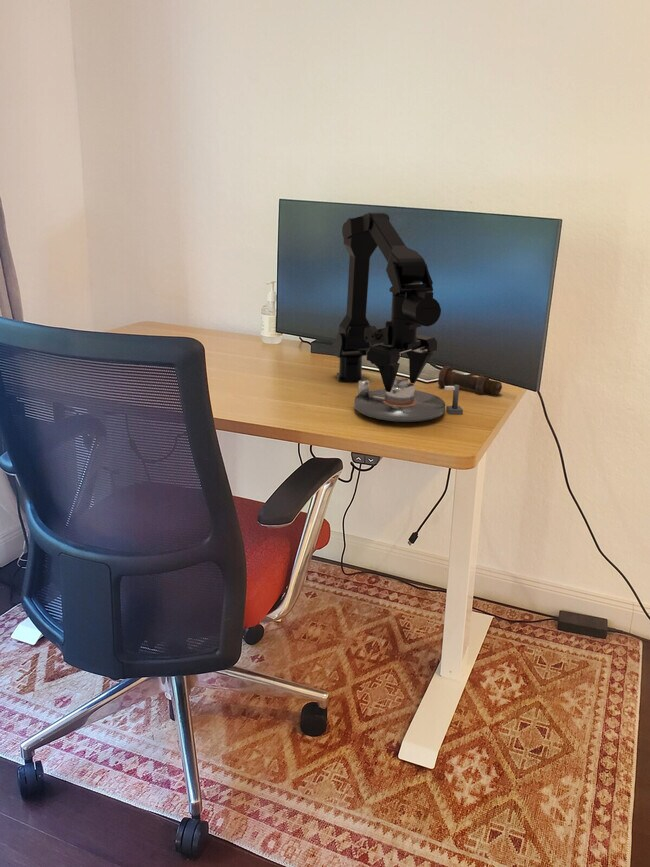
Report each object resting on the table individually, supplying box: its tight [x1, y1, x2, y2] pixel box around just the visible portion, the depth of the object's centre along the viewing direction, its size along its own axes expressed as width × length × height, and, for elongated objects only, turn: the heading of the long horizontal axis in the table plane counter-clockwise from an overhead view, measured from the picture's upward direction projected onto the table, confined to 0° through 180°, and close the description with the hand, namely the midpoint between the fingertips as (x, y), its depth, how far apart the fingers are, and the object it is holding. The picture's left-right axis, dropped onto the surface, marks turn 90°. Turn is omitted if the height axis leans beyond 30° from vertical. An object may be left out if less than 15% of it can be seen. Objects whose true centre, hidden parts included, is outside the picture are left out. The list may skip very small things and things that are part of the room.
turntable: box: [353, 379, 446, 423], centre depth 166 cm, size 20×20×4 cm
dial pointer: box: [443, 385, 464, 415], centre depth 167 cm, size 3×4×6 cm
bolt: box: [437, 365, 503, 395], centre depth 183 cm, size 6×5×15 cm
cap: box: [385, 376, 416, 406], centre depth 165 cm, size 6×6×5 cm
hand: (400, 387), depth 165 cm, fingers open, 9 cm apart
